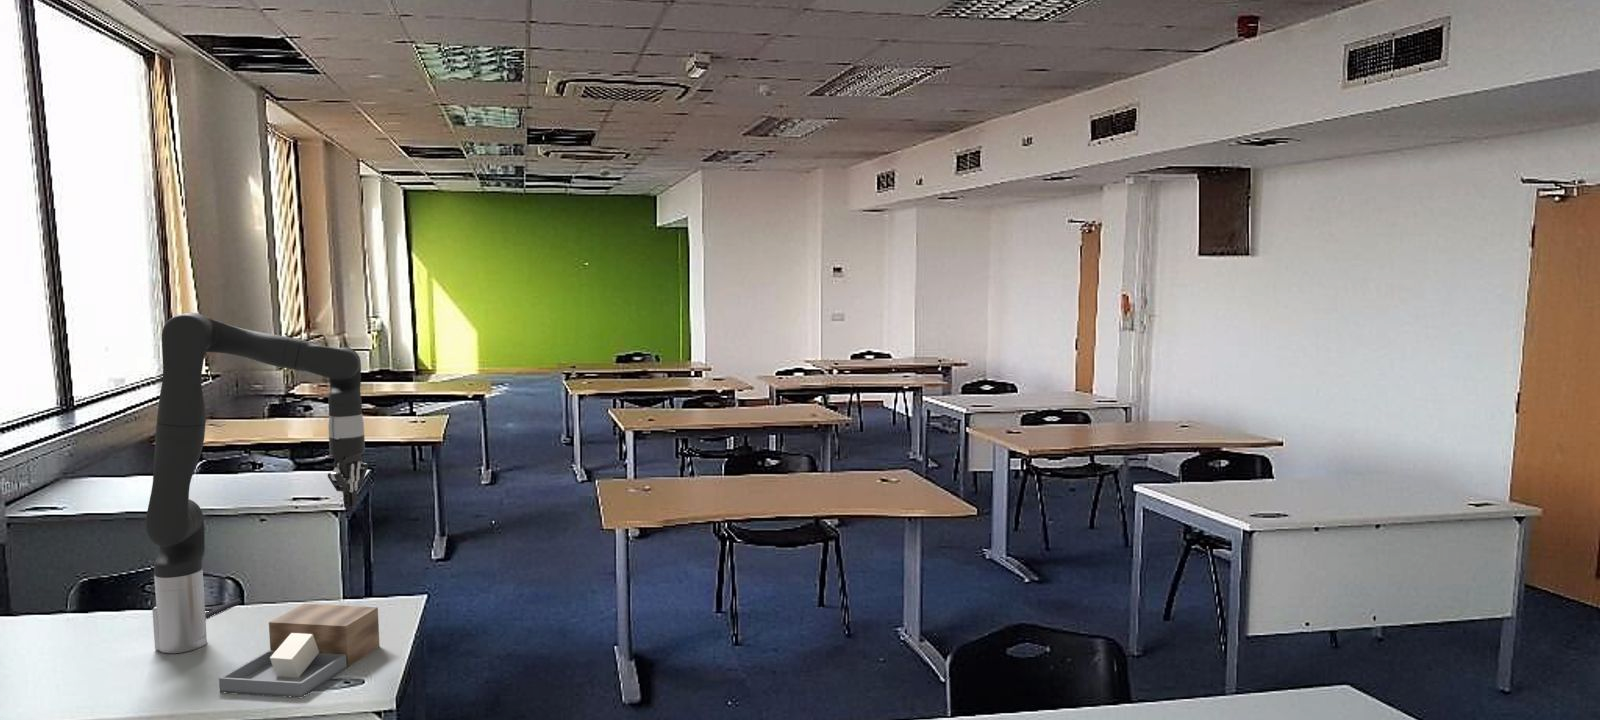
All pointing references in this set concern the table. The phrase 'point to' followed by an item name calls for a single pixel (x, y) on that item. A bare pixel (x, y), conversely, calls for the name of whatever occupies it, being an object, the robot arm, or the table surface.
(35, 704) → the table surface
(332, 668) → the box
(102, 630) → the table surface
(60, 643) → the table surface
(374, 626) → the walnut platform
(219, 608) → the bracket
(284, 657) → the cream block
